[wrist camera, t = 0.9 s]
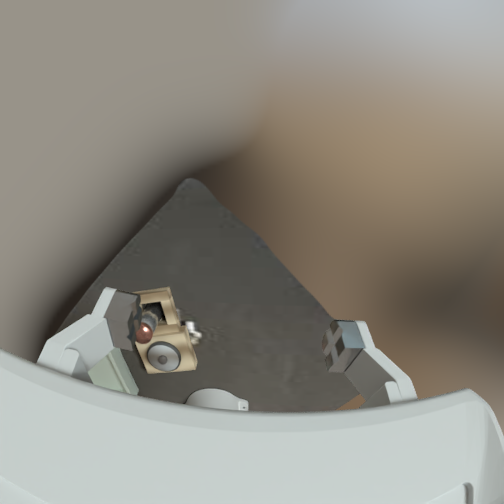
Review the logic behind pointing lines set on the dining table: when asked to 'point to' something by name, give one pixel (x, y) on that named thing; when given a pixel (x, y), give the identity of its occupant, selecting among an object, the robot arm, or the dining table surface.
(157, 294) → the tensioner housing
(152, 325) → the lock pin
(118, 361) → the tray
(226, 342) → the dining table surface
